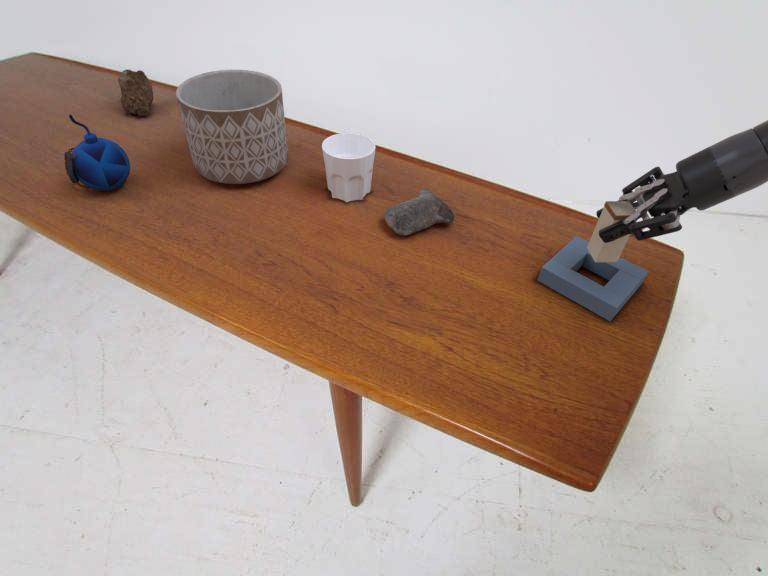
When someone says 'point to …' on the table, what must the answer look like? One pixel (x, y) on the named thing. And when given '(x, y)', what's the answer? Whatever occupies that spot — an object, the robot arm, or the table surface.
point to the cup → (348, 165)
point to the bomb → (97, 162)
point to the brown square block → (609, 216)
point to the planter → (234, 125)
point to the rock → (135, 92)
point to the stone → (418, 213)
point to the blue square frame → (585, 291)
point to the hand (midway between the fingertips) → (600, 227)
